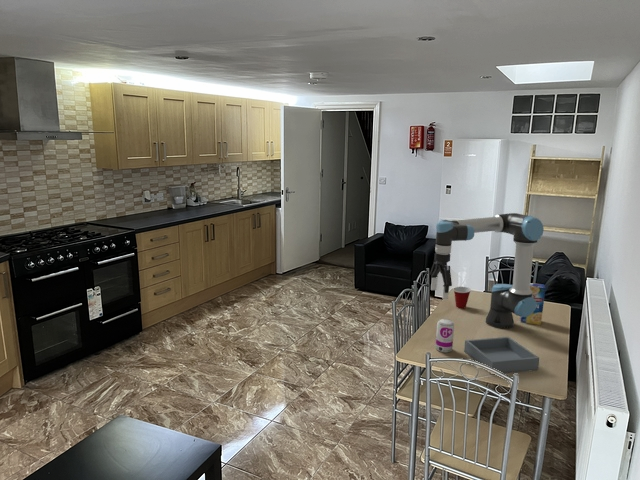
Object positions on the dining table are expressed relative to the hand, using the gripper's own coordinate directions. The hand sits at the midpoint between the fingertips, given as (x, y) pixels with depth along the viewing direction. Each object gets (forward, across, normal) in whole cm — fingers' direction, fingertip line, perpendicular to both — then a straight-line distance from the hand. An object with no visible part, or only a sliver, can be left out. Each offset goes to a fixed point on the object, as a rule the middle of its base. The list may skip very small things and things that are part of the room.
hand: (439, 294), depth 242 cm
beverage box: (+26, -21, +69) cm, 76 cm away
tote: (+26, +22, +23) cm, 42 cm away
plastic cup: (+26, -49, +39) cm, 68 cm away
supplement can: (+27, +7, +2) cm, 28 cm away
